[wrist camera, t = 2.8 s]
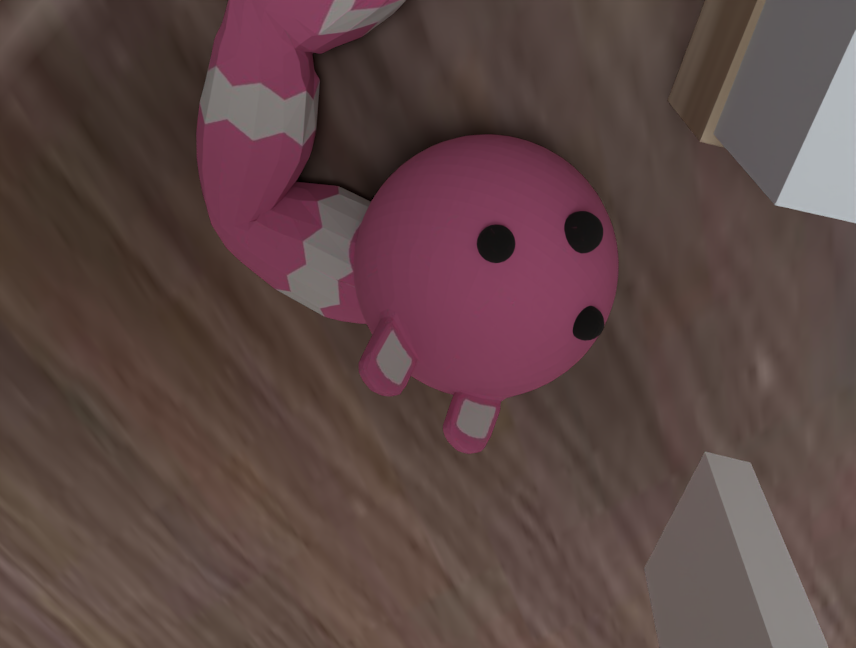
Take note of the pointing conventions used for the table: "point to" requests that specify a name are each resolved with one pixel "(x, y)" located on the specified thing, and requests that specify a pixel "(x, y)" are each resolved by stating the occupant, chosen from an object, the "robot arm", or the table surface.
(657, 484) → the table surface
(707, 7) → the lower slab
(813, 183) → the upper block
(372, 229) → the toy
